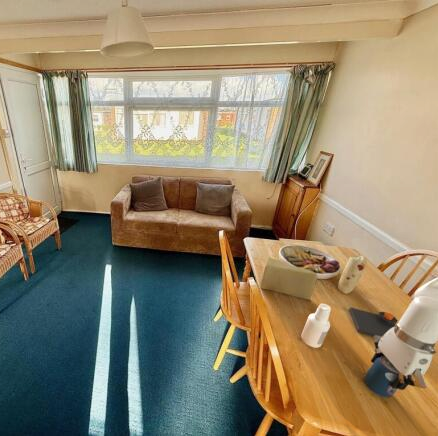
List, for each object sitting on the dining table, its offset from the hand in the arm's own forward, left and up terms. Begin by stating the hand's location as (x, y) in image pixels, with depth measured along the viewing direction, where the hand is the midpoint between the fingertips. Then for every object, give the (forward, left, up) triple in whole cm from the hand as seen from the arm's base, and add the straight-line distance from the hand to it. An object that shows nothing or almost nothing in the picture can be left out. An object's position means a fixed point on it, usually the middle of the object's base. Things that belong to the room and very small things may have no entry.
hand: (386, 374), depth 72 cm
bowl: (+12, -68, -7) cm, 69 cm away
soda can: (0, 0, -7) cm, 7 cm away
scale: (-8, -30, -7) cm, 32 cm away
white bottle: (+17, -11, -7) cm, 22 cm away
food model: (-3, -52, -7) cm, 53 cm away
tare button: (-13, -34, -4) cm, 37 cm away
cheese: (+25, -38, -7) cm, 46 cm away
